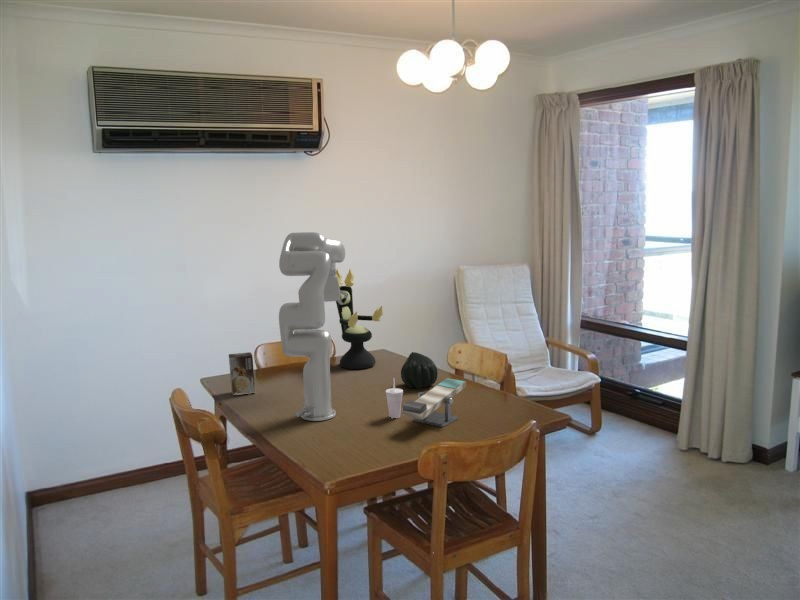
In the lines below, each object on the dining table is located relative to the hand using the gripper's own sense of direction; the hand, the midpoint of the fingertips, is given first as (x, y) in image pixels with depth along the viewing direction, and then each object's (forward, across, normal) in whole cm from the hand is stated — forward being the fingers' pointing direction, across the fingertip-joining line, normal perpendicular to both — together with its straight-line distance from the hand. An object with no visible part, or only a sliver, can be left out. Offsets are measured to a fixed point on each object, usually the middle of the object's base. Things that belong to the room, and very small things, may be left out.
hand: (328, 314), depth 274 cm
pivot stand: (+30, +31, -53) cm, 69 cm away
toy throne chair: (+30, +14, +30) cm, 44 cm away
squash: (+30, +35, -12) cm, 48 cm away
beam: (+22, +31, -53) cm, 66 cm away
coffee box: (+30, -36, -2) cm, 47 cm away
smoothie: (+31, +18, -46) cm, 58 cm away
